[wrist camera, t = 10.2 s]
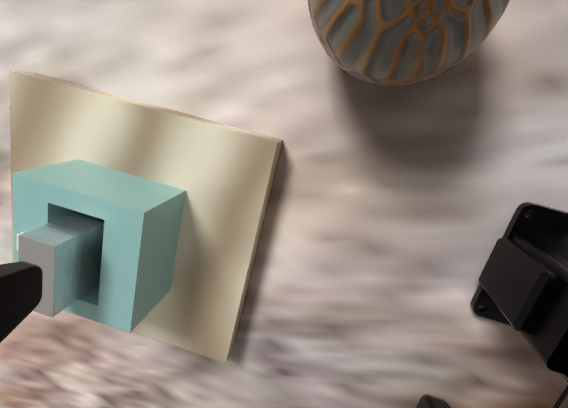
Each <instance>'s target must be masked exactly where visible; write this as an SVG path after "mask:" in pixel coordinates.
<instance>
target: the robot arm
mask: <svg viewBox="0 0 568 408" xmlns="http://www.w3.org/2000/svg"><path fill="white" fill-rule="evenodd" d="M530 209H531V210H532V211H533V212H532V214H531V215H530V216H528V217H525V213H526V212H527V211H528V210H530ZM479 282H480V285H479V287H478V289H477V291H476V293H475V295H474V297H473V299H472V301H471V307H472V309H473V311H474V312H475V313H476V314H477V315H479V316H482V317H485V318H489V319H492V320H495V321H498V322H502V323H505V324H508V325H512V327H513V328H514V329H515V330H517V331H520V332H521V334H522V335H523V336H524V338H525V339H526V340H527V341H528V343H529V344H530V345H531V347H532V348H533V349H534V351H535V352H536V353H537V354H538V356H539V357H540V358H541V360H542V361H543V362H544V364H545V365H546V366H547V368H548V369H550V370H552V371H555V372H558V373H561V375H562V376H563V377H564V378H565V380H566V381H567V382H568V212H564V211H560V210H557V209H553V208H549V207H545V206H542V205H538V204H534V203H529V202H527V203H523V204H521V205H520V206H519V207H518V208H517V209H516V211H515V213H514V215H513V217H512V219H511V221H510V223H509V225H508V227H507V230H506V232H505V234H504V236H503V237H502V238H500V239H498V241H497V243H496V245H495V247H494V249H493V251H492V253H491V255H490V257H489V259H488V261H487V263H486V265H485V267H484V269H483V271H482V274H481V276H480V278H479ZM42 287H43V271H42V269H41V267H39V266H38V265H35V264H32V263H29V262H25V261H21V262H14V263H8V264H2V265H0V343H1V342H2V341H3V340H4V339H5V338H6V337H7V336H8V335H9V334H10V333H11V332H12V331H13V330H14V329H15V328H16V327H17V326H18V325H19V324H20V323H21V322H22V321H23V320H24V319H25V318H26V317H27V316H28V315H29V314H30V313H31V312H32V311H33V310H34V309H35V308H36V307H37V306H38V304H39V303H40V301H41V298H42ZM481 304H486V305H485V306H484V307H483V308H478V307H479V306H480V305H481ZM416 408H451V407H450V406H449V405H448V404H447V403H446V402H445V401H444V400H442V399H440V398H437V397H434V396H431V395H427V394H426V395H423V396H422V397H421V399H420V401H419V403H418V405H417V407H416ZM553 408H568V385H567V387H566V389H565V390H564V392H563V393H562V395H561V396H560V398H559V399H558V401H557V402H556V404H555V405H554V407H553Z"/></svg>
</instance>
